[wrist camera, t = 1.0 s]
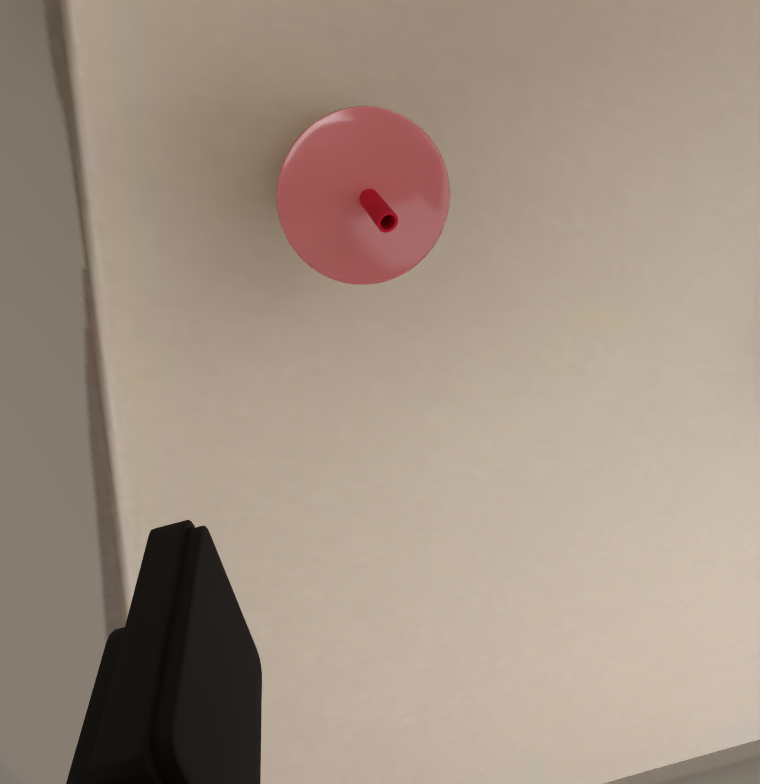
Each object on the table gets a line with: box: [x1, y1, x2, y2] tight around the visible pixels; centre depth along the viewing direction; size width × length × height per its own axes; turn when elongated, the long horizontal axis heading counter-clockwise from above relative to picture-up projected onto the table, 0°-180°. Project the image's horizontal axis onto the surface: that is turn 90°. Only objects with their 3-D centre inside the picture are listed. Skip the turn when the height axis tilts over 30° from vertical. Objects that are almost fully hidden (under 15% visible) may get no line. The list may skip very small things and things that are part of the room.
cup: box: [277, 106, 450, 284], centre depth 24 cm, size 5×5×12 cm
